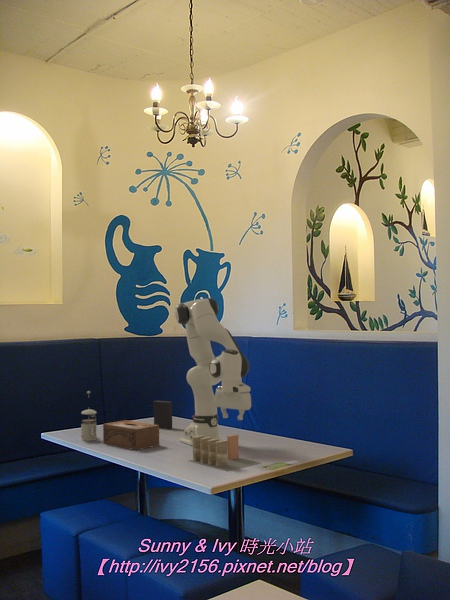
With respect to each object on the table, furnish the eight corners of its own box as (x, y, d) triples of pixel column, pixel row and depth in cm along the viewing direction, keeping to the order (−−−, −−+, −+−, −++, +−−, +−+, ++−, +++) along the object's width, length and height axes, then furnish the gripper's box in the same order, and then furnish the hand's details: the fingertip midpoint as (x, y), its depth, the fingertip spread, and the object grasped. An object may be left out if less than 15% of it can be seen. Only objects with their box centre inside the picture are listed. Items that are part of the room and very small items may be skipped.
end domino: (227, 459, 276) (227, 436, 276) (236, 457, 279) (235, 434, 279) (230, 459, 275) (229, 436, 275) (238, 457, 278) (238, 434, 278)
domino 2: (200, 462, 271) (200, 438, 271) (209, 460, 274) (209, 437, 274) (202, 462, 270) (202, 439, 270) (211, 460, 273) (211, 437, 273)
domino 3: (208, 464, 267) (207, 440, 267) (217, 462, 270) (216, 438, 271) (210, 464, 266) (210, 440, 266) (219, 462, 269) (219, 439, 269)
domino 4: (215, 466, 263) (215, 441, 264) (224, 464, 267) (224, 440, 267) (218, 466, 262) (218, 442, 262) (227, 464, 265) (227, 440, 266)
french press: (76, 440, 328) (75, 391, 329) (86, 436, 339) (85, 389, 340) (93, 441, 326) (93, 392, 326) (103, 436, 337) (102, 389, 337)
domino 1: (193, 460, 274) (192, 437, 275) (201, 458, 278) (201, 435, 278) (195, 460, 273) (195, 437, 273) (204, 459, 277) (204, 435, 277)
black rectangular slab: (173, 428, 361) (172, 401, 361) (168, 429, 357) (168, 402, 357) (157, 426, 366) (157, 400, 367) (153, 427, 363) (152, 401, 363)
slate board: (186, 463, 274) (186, 460, 274) (221, 455, 287) (221, 453, 287) (227, 473, 254) (227, 471, 254) (262, 465, 268) (262, 463, 268)
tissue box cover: (103, 443, 320) (103, 423, 320) (126, 439, 330) (125, 420, 331) (136, 450, 302) (136, 429, 303) (159, 445, 313) (159, 425, 313)
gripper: (210, 386, 283) (211, 417, 283) (242, 389, 268) (243, 422, 267) (221, 385, 287) (222, 415, 287) (253, 387, 272) (254, 420, 272)
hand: (232, 418), depth 277 cm, fingers open, 8 cm apart
